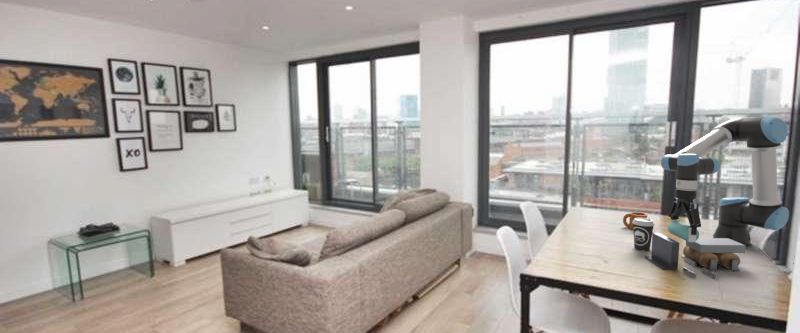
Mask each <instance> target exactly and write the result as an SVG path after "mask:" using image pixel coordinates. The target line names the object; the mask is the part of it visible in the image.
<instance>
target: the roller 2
mask: <svg viewBox="0 0 800 333" xmlns="http://www.w3.org/2000/svg"><path fill="white" fill-rule="evenodd" d="M682 253H683V256H686V257H688V258H690V259H692V260H694V261H696V262H697V265H698V264H699V266H702V267H705V268H707V269H709V259H717V266H718V265H719V264H718V263H719V259H718V257H717V256H716V255H715V254H713V253H700V252H698V251H696V250H694V249H692V248H690V247H688V246H686V245H685V246H684V247H683V250H682Z"/></svg>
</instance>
